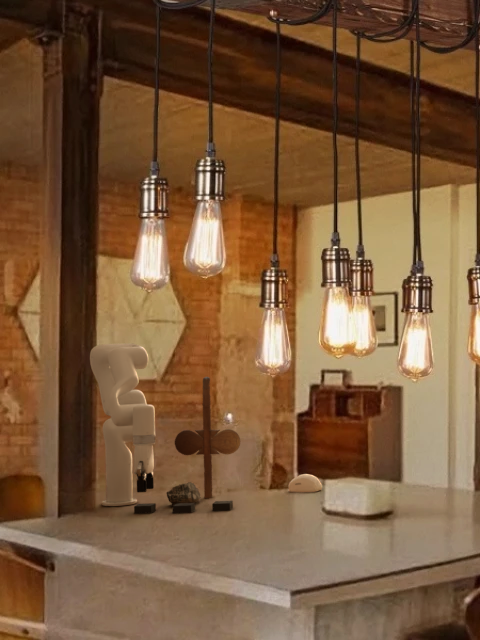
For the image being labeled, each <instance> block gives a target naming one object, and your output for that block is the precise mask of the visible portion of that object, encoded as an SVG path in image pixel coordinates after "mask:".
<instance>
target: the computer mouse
mask: <svg viewBox="0 0 480 640" xmlns="http://www.w3.org/2000/svg"><path fill="white" fill-rule="evenodd" d="M287 487H288V492H289V493H290V492H291V493H314V492H319V491H321V490H322V489H323V484H322V483H321V481H320V479H319V478H318V477H317V476H315V475H313V474H309V473H303V474H299V475H297V476H295V477H294V478H292V479H291V481H289V483H288V485H287Z"/></svg>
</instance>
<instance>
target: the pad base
mask: <svg viewBox="0 0 480 640" xmlns="http://www.w3.org/2000/svg"><path fill="white" fill-rule="evenodd" d="M194 511H196V502H194V503H177V504H175V505H172V514H192V513H193V512H194Z"/></svg>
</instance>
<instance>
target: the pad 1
mask: <svg viewBox="0 0 480 640" xmlns="http://www.w3.org/2000/svg"><path fill="white" fill-rule="evenodd" d="M156 507H157V503H156V502H155V503H153V502H152V503H151V502H150V503H136V505H134V506H133V514H134V515H136V514H139V515H141V514H143V515H144V514H153V513H154V512H156V510H157V509H156Z"/></svg>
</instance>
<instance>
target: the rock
mask: <svg viewBox="0 0 480 640" xmlns="http://www.w3.org/2000/svg"><path fill="white" fill-rule="evenodd" d="M166 497H167V500H168V502H169V503H170V504H171V505H172V506H174V505H175V504H177V503H197V502H198V501H200V500H201V498H202V497H201V492H200V490H199V489H198V487H197V485H196V484H195V483H193V482H192V481H189V482H185V483H181V484H178V485H175V486H173V487H171V488H170V490H168V491H166Z"/></svg>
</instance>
